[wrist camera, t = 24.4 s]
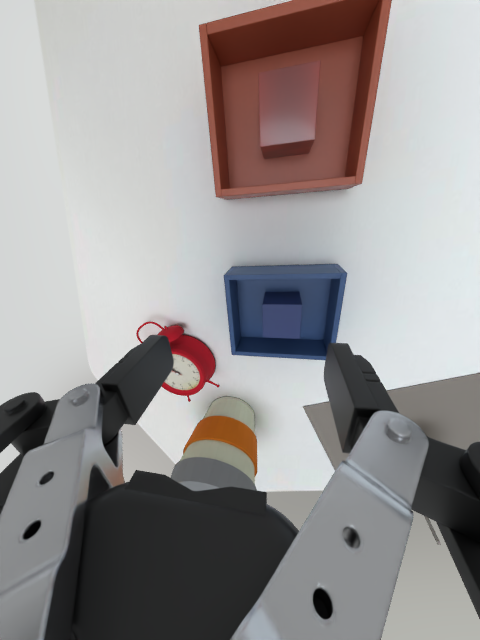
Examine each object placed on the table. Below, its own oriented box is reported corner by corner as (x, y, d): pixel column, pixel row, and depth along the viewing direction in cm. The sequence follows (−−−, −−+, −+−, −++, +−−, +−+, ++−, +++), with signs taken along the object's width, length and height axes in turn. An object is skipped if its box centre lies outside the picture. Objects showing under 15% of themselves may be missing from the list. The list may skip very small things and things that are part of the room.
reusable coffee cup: (267, 396, 37) (259, 495, 24) (260, 439, 43) (250, 538, 30) (200, 383, 39) (158, 470, 26) (202, 427, 45) (168, 515, 32)
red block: (264, 159, 22) (259, 147, 18) (263, 100, 20) (258, 72, 16) (309, 153, 21) (315, 139, 17) (313, 91, 19) (320, 59, 15)
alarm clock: (184, 408, 37) (106, 363, 31) (192, 379, 42) (126, 335, 36) (227, 387, 33) (147, 330, 27) (230, 358, 38) (164, 303, 32)
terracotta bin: (226, 199, 25) (215, 196, 21) (215, 62, 20) (198, 24, 16) (348, 188, 22) (362, 183, 18) (370, 28, 17) (396, -28, 13)
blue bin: (237, 338, 33) (231, 354, 29) (232, 266, 28) (223, 275, 24) (326, 341, 30) (333, 360, 26) (337, 263, 25) (347, 273, 22)
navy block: (265, 321, 30) (262, 337, 26) (265, 291, 28) (262, 304, 24) (297, 322, 29) (299, 339, 25) (299, 291, 27) (302, 304, 23)
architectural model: (303, 406, 37) (313, 504, 25) (485, 372, 28) (643, 496, 16) (338, 476, 44) (359, 579, 31) (493, 465, 35) (607, 603, 23)
